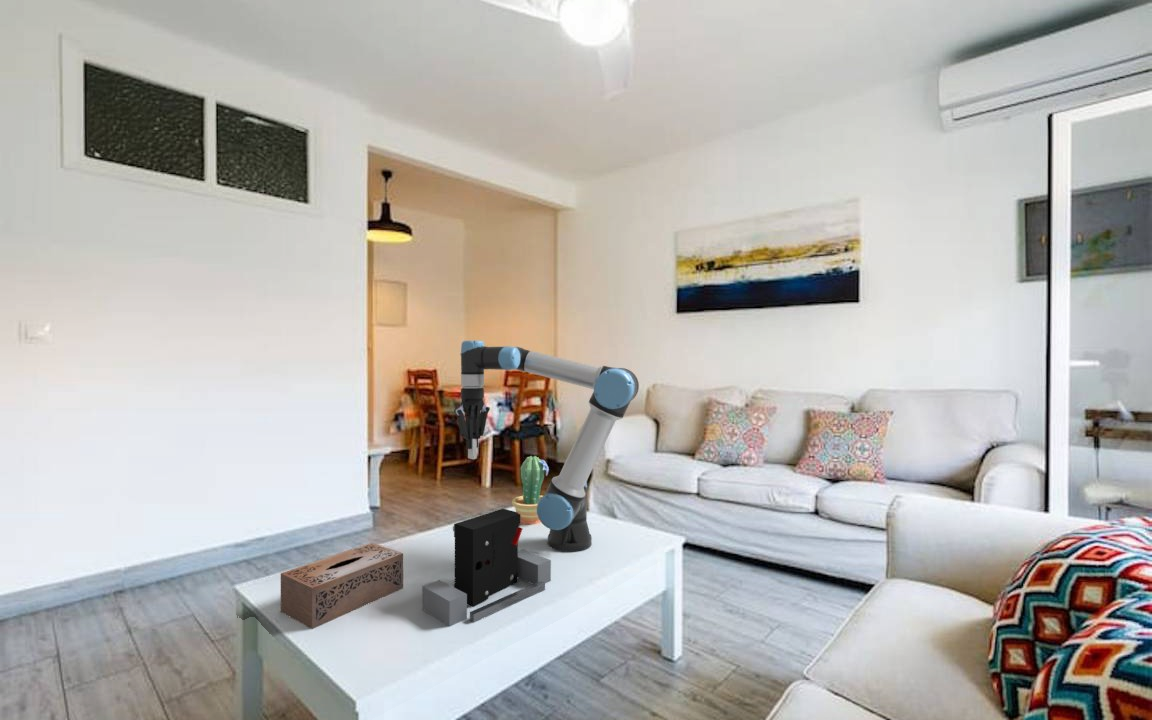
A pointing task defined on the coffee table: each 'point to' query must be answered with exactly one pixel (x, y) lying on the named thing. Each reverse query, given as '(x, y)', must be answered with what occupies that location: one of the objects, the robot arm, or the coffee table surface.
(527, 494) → the potted cactus
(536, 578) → the block
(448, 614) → the block
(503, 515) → the electrical component
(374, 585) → the tissue box cover
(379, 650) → the coffee table surface
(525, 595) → the metal rail
